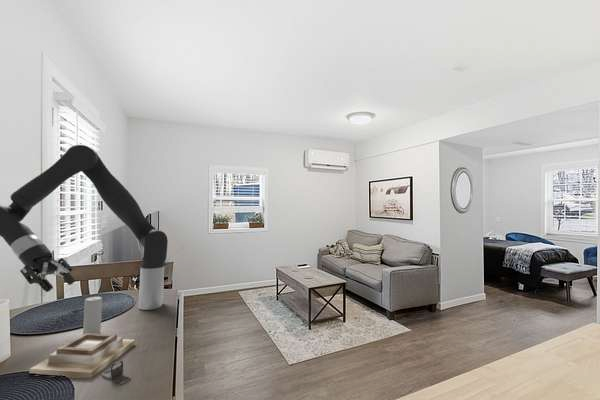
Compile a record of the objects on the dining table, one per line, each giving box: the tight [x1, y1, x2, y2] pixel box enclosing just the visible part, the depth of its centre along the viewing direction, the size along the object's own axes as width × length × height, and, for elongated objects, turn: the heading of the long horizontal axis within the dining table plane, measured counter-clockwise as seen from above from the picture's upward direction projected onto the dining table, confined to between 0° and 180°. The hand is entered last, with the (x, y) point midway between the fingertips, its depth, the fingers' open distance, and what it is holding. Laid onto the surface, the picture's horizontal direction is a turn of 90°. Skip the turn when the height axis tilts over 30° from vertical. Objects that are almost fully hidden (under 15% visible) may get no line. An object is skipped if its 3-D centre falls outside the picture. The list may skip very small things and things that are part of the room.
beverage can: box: [82, 295, 103, 335], centre depth 95 cm, size 5×5×12 cm
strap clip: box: [101, 360, 132, 386], centre depth 72 cm, size 8×3×4 cm, turn 62°
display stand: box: [28, 333, 136, 379], centre depth 80 cm, size 18×16×5 cm
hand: (61, 286), depth 96 cm, fingers open, 8 cm apart
